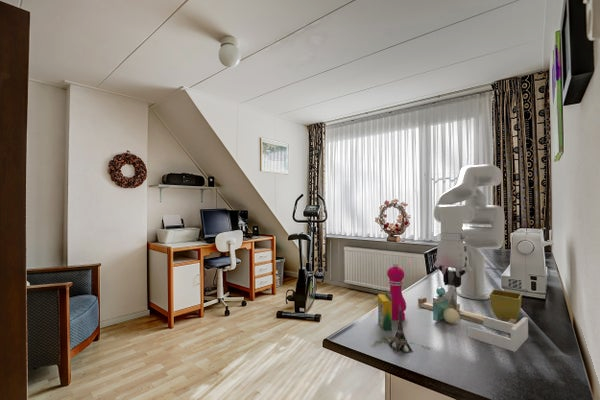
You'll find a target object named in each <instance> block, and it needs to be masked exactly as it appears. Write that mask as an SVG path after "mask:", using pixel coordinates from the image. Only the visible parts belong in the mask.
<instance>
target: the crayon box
mask: <svg viewBox="0 0 600 400" xmlns="http://www.w3.org/2000/svg"><path fill="white" fill-rule="evenodd" d="M388 295H390V297H389V296H388ZM377 309H378V310H377V311H378V312H377V313H378V315H377V316H378V318H377V320H378V321H377V322H378V323H379V325H380V327H381V328H382V330H383V331H384V332H393V320H392V295H391V294H390V291H388V290H387V289H385V294H380V293H379V294H377Z"/></svg>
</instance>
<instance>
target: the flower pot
mask: <svg viewBox="0 0 600 400" xmlns="http://www.w3.org/2000/svg"><path fill="white" fill-rule="evenodd" d="M488 295H489V301H490V307H491V309H492V312H493V314H494V316H495V317H496V318H497V320H501V321H506V322H508V321H509V320H510V319H514V320H516V321H517V319H518V317H519V314H520V311H521V306H522V299H523V298H522V297H523V294H522V293H520V292H515V291H514V292H513V291H505V290H501V289H492V291H491V292H490V293H489V294H488Z"/></svg>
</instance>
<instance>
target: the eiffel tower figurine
mask: <svg viewBox="0 0 600 400" xmlns="http://www.w3.org/2000/svg"><path fill="white" fill-rule="evenodd" d="M404 332H405V331H404V328H403V320H402V317H401V307H399V319H398V322H397V328H396V332H395V335H393V336H389V337H388V336H387V337H386V336H385V337H381V338H380V339H379V340H375V341H374V342H373V343H372V344H370V347H372V348H374V349H376V348H377V347H378V346H380V345H382V344H387V346H388V347H389V349H391V350H392V352H394V353H395V354H397V355H398V354H408V353H414V350H413V349H412V347H411V345H417V346H419V347H421V348H423V350H425V351H427V350H428V351H432V350H433V348H432V347H429V346H425V345H421V344H418V343H414V342H412V341H411V342H410V341H408V338H406V336H405V333H404Z"/></svg>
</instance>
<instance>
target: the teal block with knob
mask: <svg viewBox="0 0 600 400" xmlns="http://www.w3.org/2000/svg"><path fill="white" fill-rule="evenodd" d="M455 277H456V270H455V269H454V270H453V269H448V271H447V284H448V285H447V291H446V289H445V288H444V287H441V286H440V287H437V288H436V290H435V291H436V294H437V295H436V296H434V297H432V303H433V310H432V320H433V321H435V322H439V321H441V320H443V319H444V316H443V313H444V311H445V310H446V309H448V308H452V309H455V310H456V311H458V310H461V304H460V303H458V294H457V289H458V287H457V288H456V287H455Z"/></svg>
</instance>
